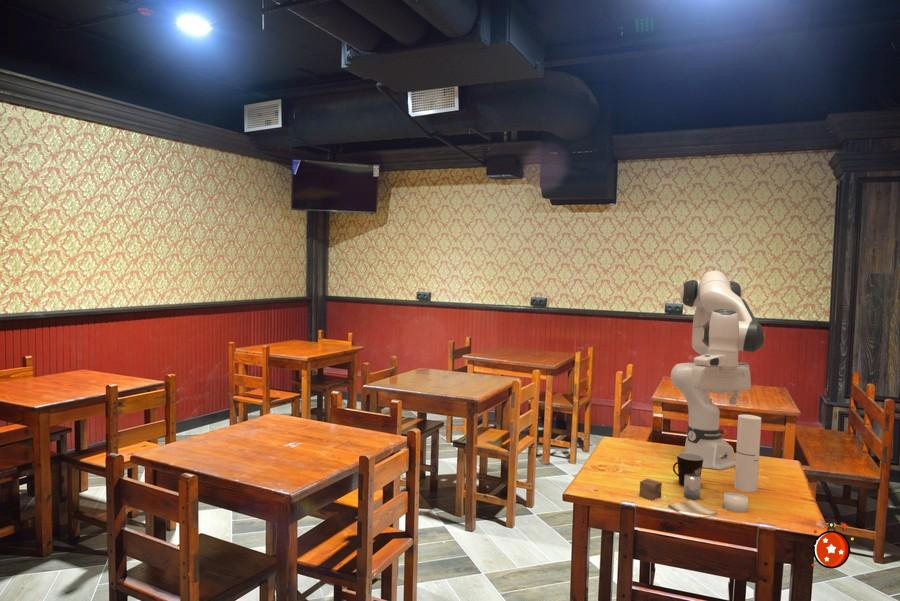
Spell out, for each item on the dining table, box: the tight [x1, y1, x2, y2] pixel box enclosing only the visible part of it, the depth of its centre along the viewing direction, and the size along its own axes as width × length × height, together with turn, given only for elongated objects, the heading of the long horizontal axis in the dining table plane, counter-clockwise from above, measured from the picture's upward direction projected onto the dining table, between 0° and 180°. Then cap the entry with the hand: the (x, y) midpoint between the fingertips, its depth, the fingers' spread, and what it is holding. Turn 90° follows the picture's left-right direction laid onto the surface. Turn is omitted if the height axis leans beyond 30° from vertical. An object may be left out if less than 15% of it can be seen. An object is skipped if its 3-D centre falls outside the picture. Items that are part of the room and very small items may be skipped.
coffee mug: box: [672, 452, 704, 487], centre depth 211 cm, size 12×9×10 cm
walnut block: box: [638, 478, 663, 501], centre depth 198 cm, size 5×5×5 cm
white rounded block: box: [722, 491, 749, 514], centre depth 191 cm, size 7×7×4 cm
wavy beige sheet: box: [667, 500, 718, 516], centre depth 187 cm, size 10×10×1 cm
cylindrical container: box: [733, 414, 762, 493], centre depth 209 cm, size 7×7×25 cm
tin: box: [683, 474, 702, 501], centre depth 199 cm, size 5×5×7 cm
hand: (720, 404), depth 192 cm, fingers open, 8 cm apart
